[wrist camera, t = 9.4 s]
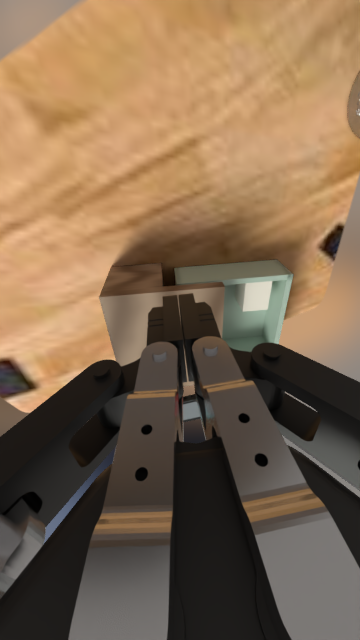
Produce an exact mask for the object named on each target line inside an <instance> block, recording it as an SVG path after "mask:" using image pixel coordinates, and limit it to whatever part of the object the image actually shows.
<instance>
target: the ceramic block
mask: <svg viewBox="0 0 360 640" xmlns="http://www.w3.org/2000/svg"><path fill="white" fill-rule="evenodd" d="M271 287H272V281H266V282H255V283H243V284H236V285H235V298H236V300H237V302H238V304H239V306H240V308H241V309H242V311H243V312H245V311H257V310H268V304H269V299H270V293H271Z"/></svg>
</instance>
